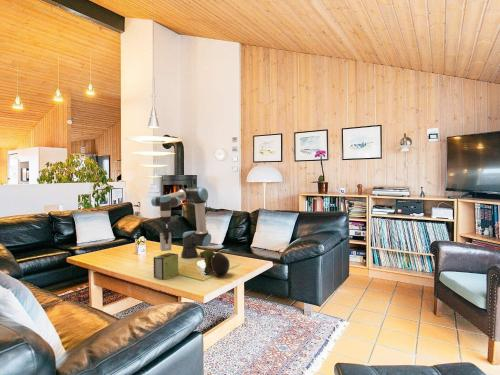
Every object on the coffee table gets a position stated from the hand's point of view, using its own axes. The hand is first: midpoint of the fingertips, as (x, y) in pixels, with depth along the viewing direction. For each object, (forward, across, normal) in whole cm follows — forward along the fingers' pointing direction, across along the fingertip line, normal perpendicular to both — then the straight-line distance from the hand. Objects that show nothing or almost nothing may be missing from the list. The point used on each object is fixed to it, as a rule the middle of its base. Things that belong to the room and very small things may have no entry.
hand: (165, 246), depth 230 cm
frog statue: (+22, +11, +34) cm, 42 cm away
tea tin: (+2, 0, 0) cm, 2 cm away
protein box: (+22, 0, 0) cm, 22 cm away
